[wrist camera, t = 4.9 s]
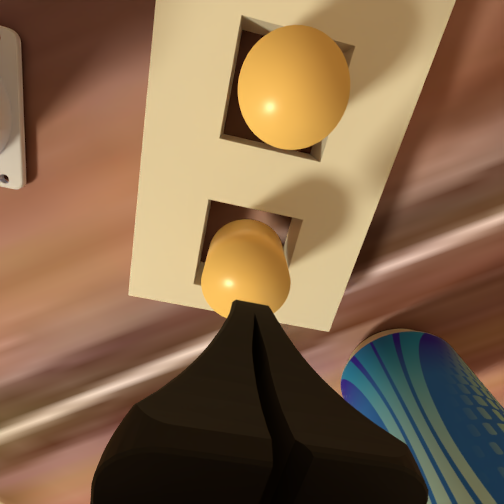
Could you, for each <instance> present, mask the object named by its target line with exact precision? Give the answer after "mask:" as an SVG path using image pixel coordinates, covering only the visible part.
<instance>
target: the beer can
mask: <svg viewBox="0 0 504 504" xmlns="http://www.w3.org/2000/svg"><path fill="white" fill-rule="evenodd" d="M341 391H342V395H343V398H344V400H346V401H347V402H348V403H349V404H350V405H352V406H353V407H354V408H355V409H356V410H358V411H359V412H360V413H362V414H363V415H364V416H366V417H367V418H368V419H370V420H371V421H372V422H374V423H375V424H376V425H378V426H380V427H381V428H383V429H384V430H386V431H387V432H389V433H390V434H392V435H393V436H395V437H396V438H398V439H399V440H401V441H402V442H404V443H405V444H407V446H408V447H409V449H410V451H411V453H412V455H413V457H414V459H415V461H416V463H417V465H418V467H419V469H420V472H421V474H422V476H423V478H424V480H425V483H426V485H427V488H428V490H429V491H428V502H427V504H504V408H503V407H502V406H501V405H500V404H499V402H498V401H497V400H496V399H495V398H494V397H493V395H492V394H491V393H490V392H489V391H488V389H487V388H486V387H485V386H484V385H483V384H482V382H481V381H480V380H479V379H478V378H477V376H476V375H475V374H474V373H473V372H472V371H471V369H470V368H469V367H468V366H467V365H466V363H465V362H464V361H463V360H462V359H461V357H460V356H459V355H458V354H457V353H456V352H455V350H454V349H453V348H452V347H451V346H450V345H449V344H448V343H447V342H446V341H444V340H443V339H441V338H440V337H437V336H435V335H433V334H430V333H426V332H421V331H415V330H410V329H391V330H386V331H382V332H379V333H377V334H374V335H372V336H371V337H369V338H367V339H366V340H364V341H363V342H362V343H361V344H359V345H358V346H357V347H356V349H355V350H354V351H353V353H352V354H351V356H350V358H349V360H348V362H347V364H346V366H345V368H344V370H343V373H342V377H341Z"/></svg>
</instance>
